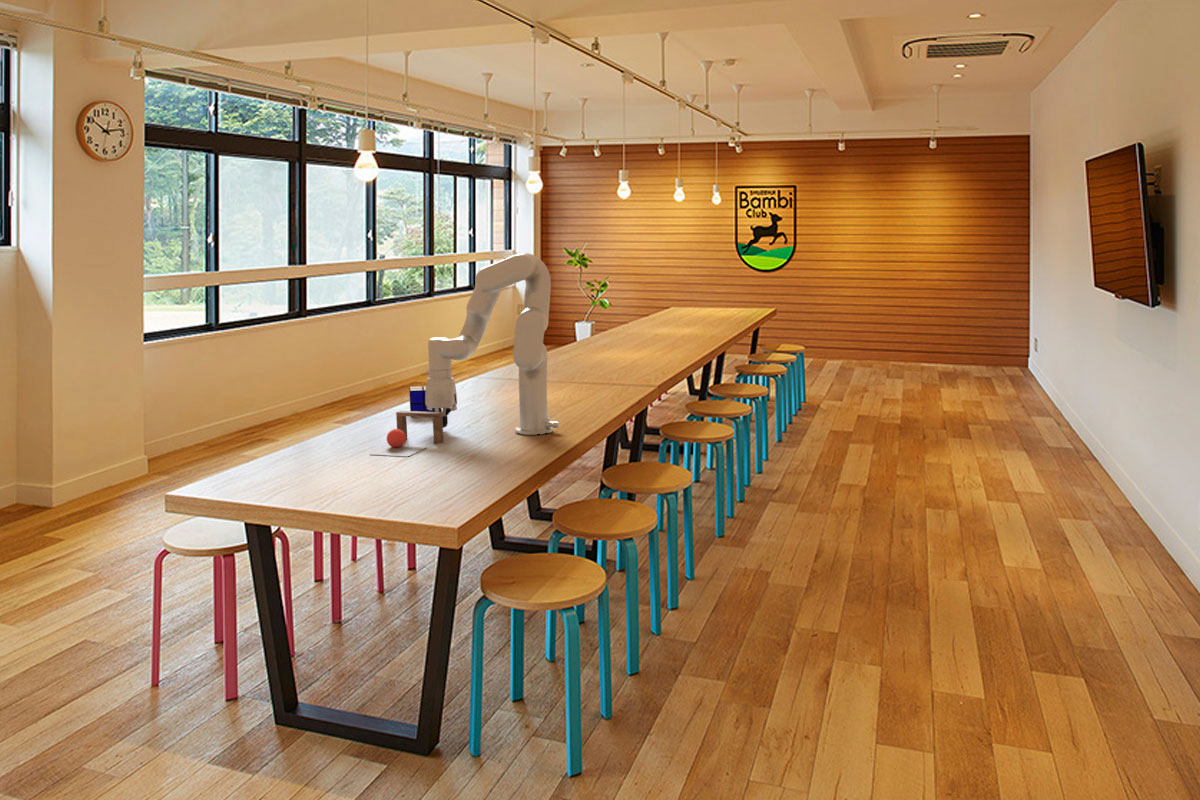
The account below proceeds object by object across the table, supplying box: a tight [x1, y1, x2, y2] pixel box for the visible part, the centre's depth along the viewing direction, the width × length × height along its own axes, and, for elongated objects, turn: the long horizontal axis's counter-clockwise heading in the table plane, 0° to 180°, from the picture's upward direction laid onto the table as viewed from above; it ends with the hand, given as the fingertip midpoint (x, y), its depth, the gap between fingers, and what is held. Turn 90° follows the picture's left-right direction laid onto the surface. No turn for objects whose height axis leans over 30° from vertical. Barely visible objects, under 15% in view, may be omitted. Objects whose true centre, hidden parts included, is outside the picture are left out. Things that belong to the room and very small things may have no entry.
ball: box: [386, 428, 407, 448], centre depth 320 cm, size 6×6×6 cm
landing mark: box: [369, 445, 428, 458], centre depth 315 cm, size 13×13×1 cm
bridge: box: [395, 410, 444, 444], centre depth 329 cm, size 3×15×10 cm, turn 73°
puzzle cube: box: [408, 385, 433, 412], centre depth 377 cm, size 10×10×10 cm
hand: (442, 426), depth 345 cm, fingers closed
